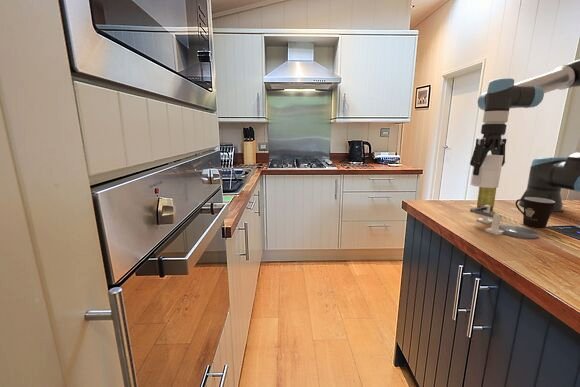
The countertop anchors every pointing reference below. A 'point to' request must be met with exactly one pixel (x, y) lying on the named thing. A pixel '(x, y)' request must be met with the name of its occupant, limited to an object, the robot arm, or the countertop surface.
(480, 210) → the bent wire
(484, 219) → the wire posts
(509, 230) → the coaster
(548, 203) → the coffee mug
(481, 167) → the robot arm
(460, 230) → the countertop surface
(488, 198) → the sauce bottle
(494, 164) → the base with upright slab
